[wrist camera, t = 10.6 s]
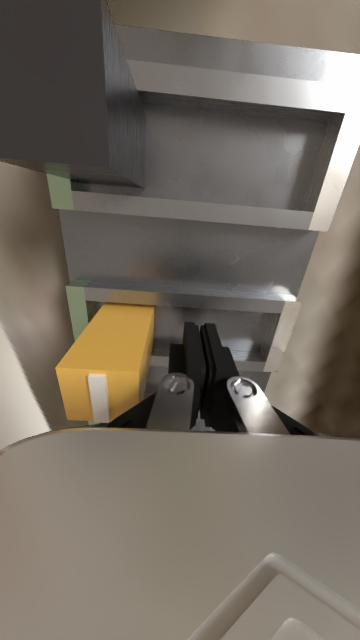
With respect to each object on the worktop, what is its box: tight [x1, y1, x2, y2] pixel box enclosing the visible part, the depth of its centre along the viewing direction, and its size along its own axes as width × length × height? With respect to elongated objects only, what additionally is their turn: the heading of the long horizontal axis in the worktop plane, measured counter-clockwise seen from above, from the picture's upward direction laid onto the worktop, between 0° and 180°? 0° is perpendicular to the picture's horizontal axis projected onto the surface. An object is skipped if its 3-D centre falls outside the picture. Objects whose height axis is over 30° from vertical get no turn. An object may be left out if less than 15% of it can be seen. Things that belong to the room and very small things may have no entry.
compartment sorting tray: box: [0, 0, 360, 431], centre depth 12 cm, size 26×14×8 cm, turn 176°
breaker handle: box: [55, 302, 154, 423], centre depth 11 cm, size 3×3×6 cm
